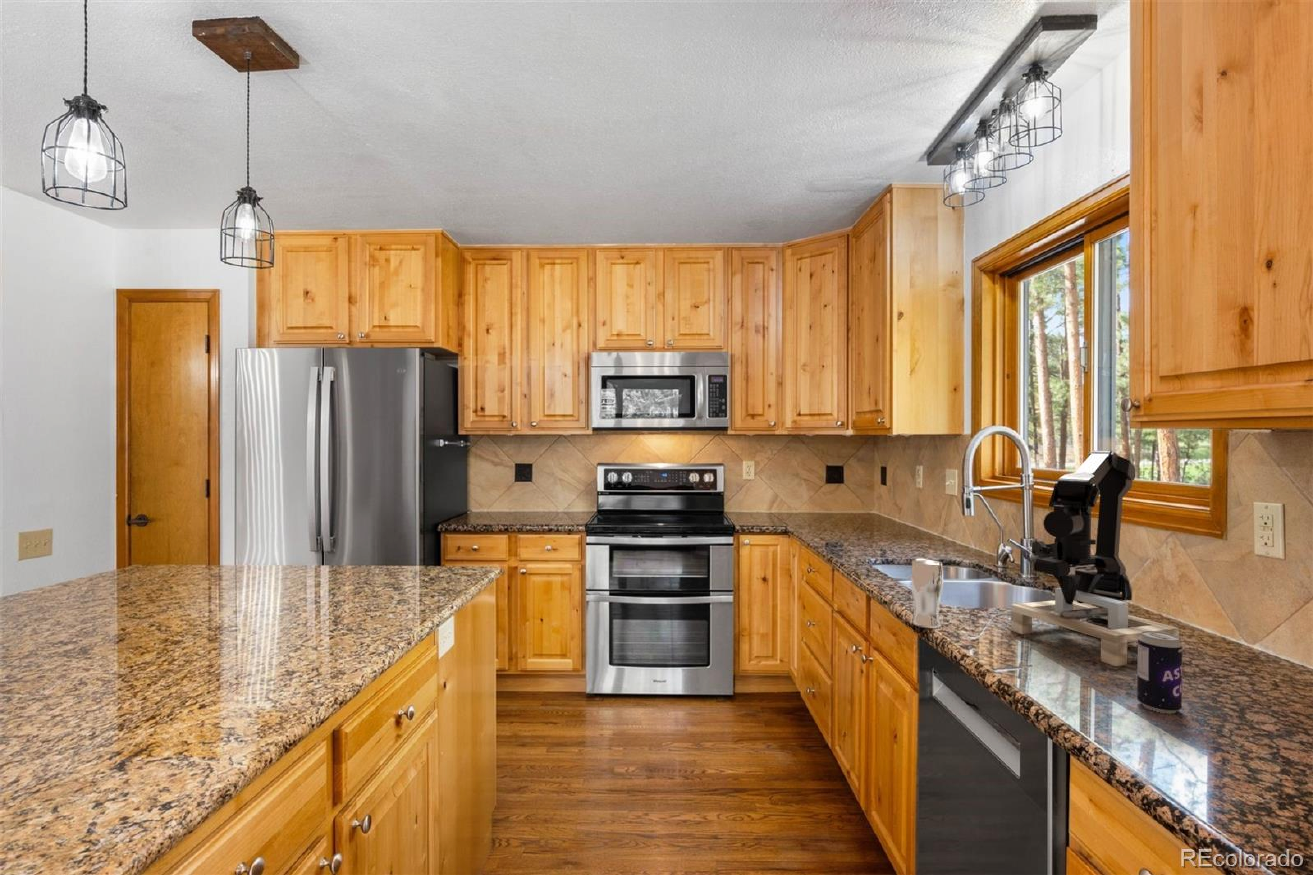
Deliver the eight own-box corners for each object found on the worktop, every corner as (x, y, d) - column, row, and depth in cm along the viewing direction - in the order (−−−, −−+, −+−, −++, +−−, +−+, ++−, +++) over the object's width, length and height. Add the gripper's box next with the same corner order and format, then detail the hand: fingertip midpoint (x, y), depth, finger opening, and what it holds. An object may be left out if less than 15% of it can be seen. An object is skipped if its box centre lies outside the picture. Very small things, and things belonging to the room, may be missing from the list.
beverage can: (1164, 717, 99) (1165, 642, 99) (1128, 703, 105) (1129, 631, 105) (1190, 713, 101) (1191, 639, 101) (1153, 699, 106) (1154, 629, 106)
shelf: (1067, 624, 151) (1068, 599, 151) (1178, 657, 128) (1178, 628, 128) (1010, 630, 145) (1010, 604, 145) (1116, 666, 122) (1116, 635, 122)
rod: (1109, 614, 140) (1109, 605, 140) (1118, 616, 138) (1118, 607, 138) (1060, 619, 135) (1060, 609, 135) (1068, 621, 133) (1068, 612, 133)
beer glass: (911, 627, 146) (912, 563, 146) (909, 619, 153) (910, 557, 153) (944, 630, 144) (945, 565, 144) (940, 622, 151) (941, 559, 151)
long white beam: (1064, 611, 144) (1065, 587, 144) (1127, 629, 130) (1128, 602, 130) (1055, 612, 143) (1055, 588, 143) (1117, 630, 129) (1118, 603, 129)
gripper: (1071, 527, 151) (1070, 592, 151) (1012, 530, 145) (1011, 597, 145) (1119, 534, 140) (1118, 604, 140) (1057, 537, 134) (1056, 610, 134)
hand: (1074, 603), depth 140 cm, fingers closed on long white beam, 3 cm apart
